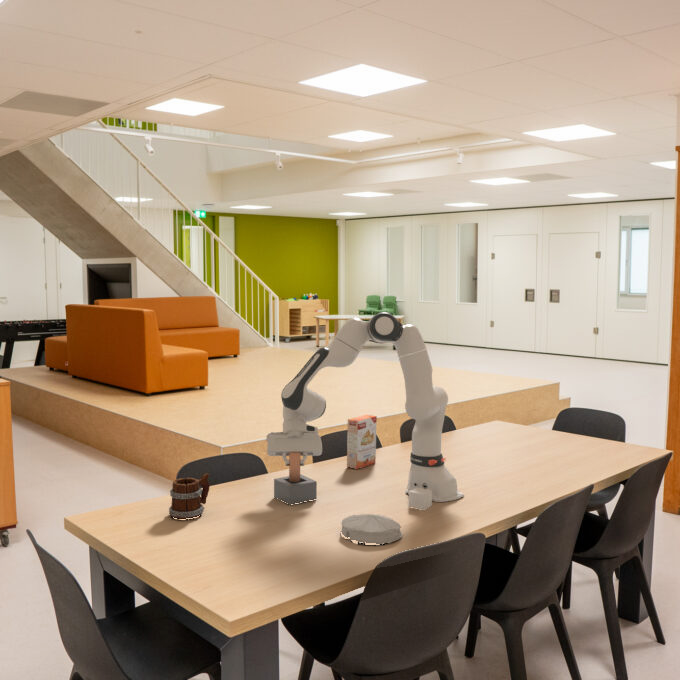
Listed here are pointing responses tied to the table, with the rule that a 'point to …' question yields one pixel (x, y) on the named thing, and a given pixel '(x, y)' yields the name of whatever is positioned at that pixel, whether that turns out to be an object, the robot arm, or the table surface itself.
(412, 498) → the white cube
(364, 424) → the cracker box
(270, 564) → the table surface
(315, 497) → the socket box
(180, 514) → the mug
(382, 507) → the table surface
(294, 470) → the peg
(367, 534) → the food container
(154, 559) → the table surface
